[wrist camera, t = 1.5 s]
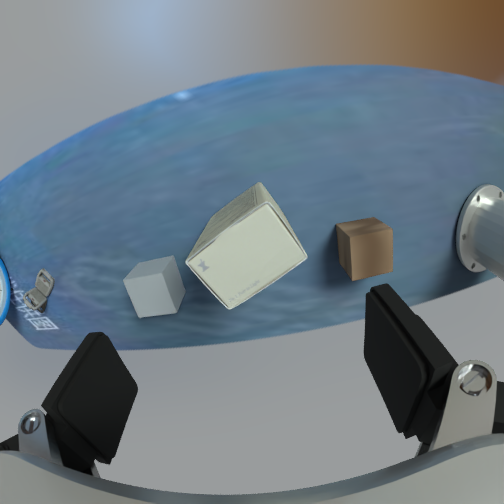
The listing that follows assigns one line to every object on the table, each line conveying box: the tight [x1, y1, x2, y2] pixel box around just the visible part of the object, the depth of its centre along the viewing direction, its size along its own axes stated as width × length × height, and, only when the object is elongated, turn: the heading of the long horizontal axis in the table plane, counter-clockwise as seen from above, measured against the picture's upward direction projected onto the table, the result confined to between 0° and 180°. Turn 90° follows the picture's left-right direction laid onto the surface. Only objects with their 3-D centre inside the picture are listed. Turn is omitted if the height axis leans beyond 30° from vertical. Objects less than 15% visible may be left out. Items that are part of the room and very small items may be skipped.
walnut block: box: [336, 217, 393, 281], centre depth 26 cm, size 4×4×4 cm
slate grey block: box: [123, 256, 186, 318], centre depth 28 cm, size 4×4×4 cm
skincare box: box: [185, 182, 307, 310], centre depth 21 cm, size 6×4×12 cm
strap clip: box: [23, 268, 55, 313], centre depth 29 cm, size 8×3×4 cm, turn 137°
